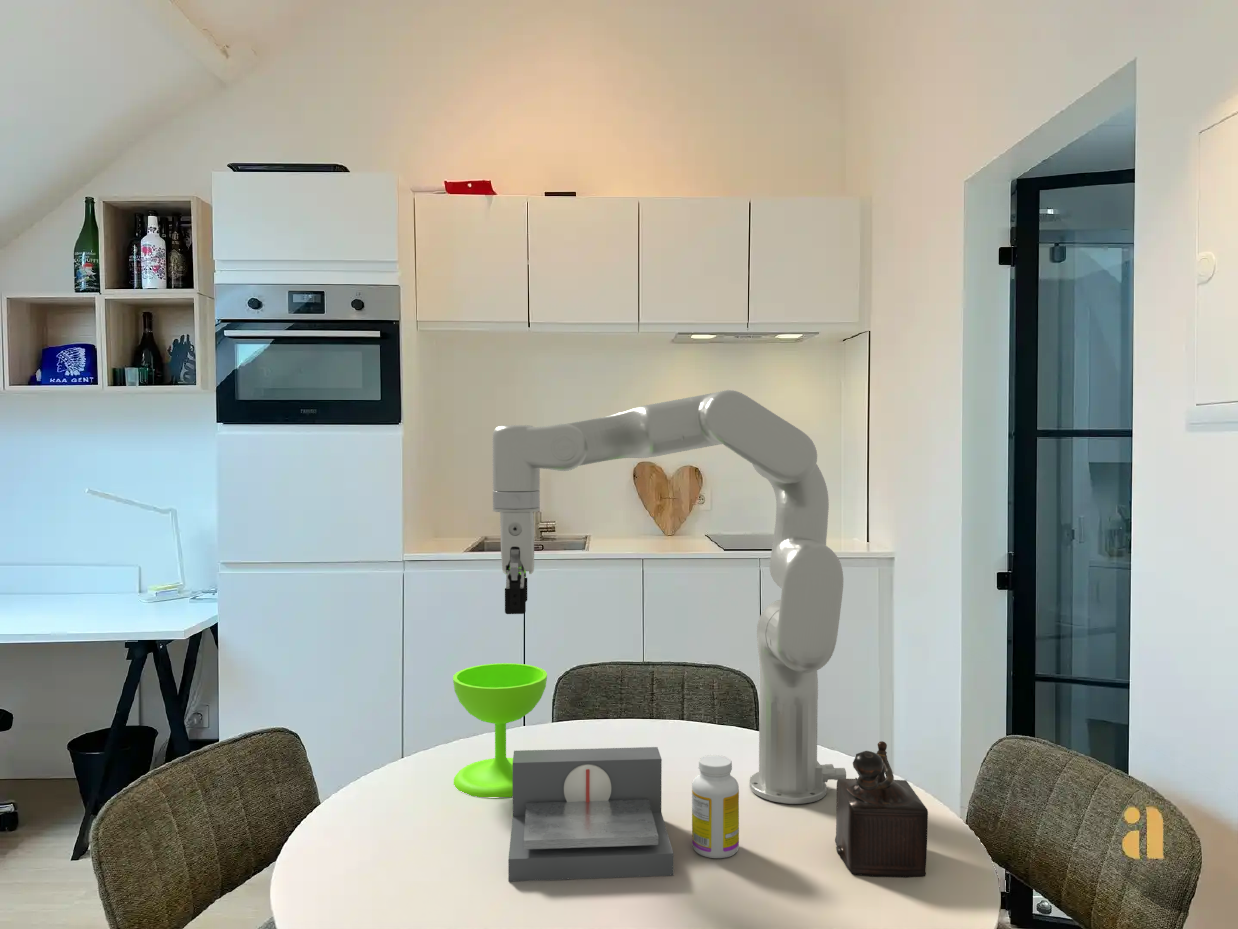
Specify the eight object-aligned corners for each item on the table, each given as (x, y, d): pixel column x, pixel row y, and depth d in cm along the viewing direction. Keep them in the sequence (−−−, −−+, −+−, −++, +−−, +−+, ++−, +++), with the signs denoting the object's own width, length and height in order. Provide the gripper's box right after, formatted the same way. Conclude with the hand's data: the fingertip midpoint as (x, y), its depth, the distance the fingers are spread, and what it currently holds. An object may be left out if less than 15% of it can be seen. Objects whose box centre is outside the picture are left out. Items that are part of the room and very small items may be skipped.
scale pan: (648, 807, 130) (648, 799, 130) (658, 844, 118) (658, 836, 118) (526, 811, 129) (526, 803, 129) (523, 849, 117) (523, 840, 117)
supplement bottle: (737, 840, 129) (738, 753, 128) (739, 861, 122) (740, 770, 122) (692, 837, 129) (692, 751, 129) (691, 859, 123) (691, 768, 122)
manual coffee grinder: (829, 840, 129) (830, 718, 128) (906, 842, 128) (907, 719, 128) (854, 896, 113) (855, 757, 113) (941, 898, 113) (943, 759, 112)
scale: (657, 817, 136) (657, 747, 136) (673, 875, 118) (673, 794, 118) (514, 822, 135) (513, 750, 134) (508, 881, 117) (508, 799, 116)
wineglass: (475, 806, 140) (475, 694, 140) (439, 773, 154) (438, 671, 153) (563, 785, 149) (563, 679, 148) (522, 755, 162) (522, 659, 162)
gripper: (538, 506, 133) (539, 618, 134) (540, 497, 151) (540, 597, 151) (489, 506, 133) (489, 619, 133) (496, 498, 150) (496, 598, 151)
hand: (516, 607), depth 142 cm, fingers open, 9 cm apart
